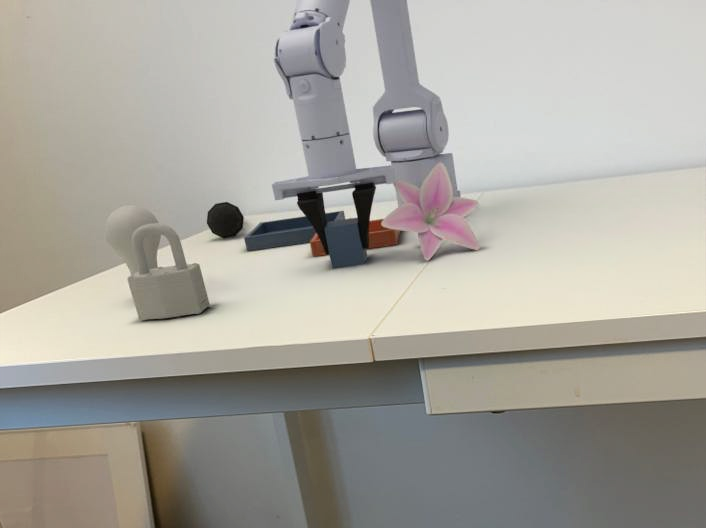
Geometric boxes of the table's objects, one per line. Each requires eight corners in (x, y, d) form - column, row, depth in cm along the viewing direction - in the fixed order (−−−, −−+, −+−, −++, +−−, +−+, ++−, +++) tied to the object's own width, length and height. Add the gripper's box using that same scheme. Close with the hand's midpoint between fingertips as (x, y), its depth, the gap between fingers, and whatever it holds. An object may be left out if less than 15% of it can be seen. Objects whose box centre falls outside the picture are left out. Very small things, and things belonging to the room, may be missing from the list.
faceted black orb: (230, 237, 145) (217, 245, 125) (213, 209, 143) (197, 212, 124) (257, 223, 145) (248, 229, 126) (241, 194, 144) (229, 195, 124)
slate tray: (346, 223, 126) (343, 210, 125) (338, 238, 115) (335, 224, 115) (262, 235, 126) (260, 222, 125) (247, 251, 116) (243, 237, 115)
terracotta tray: (399, 230, 114) (397, 216, 114) (396, 244, 106) (394, 229, 105) (322, 241, 115) (319, 227, 114) (312, 256, 106) (309, 241, 105)
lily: (373, 274, 96) (383, 207, 90) (382, 218, 105) (391, 153, 98) (472, 290, 98) (488, 225, 91) (473, 233, 106) (488, 170, 100)
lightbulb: (134, 293, 100) (108, 205, 96) (183, 285, 100) (159, 197, 97) (118, 307, 95) (90, 214, 91) (170, 299, 95) (144, 206, 91)
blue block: (367, 256, 102) (360, 217, 100) (364, 263, 98) (357, 223, 96) (336, 260, 102) (328, 221, 100) (332, 268, 98) (324, 228, 96)
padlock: (136, 323, 87) (109, 231, 83) (152, 311, 90) (127, 223, 87) (199, 315, 86) (174, 223, 82) (212, 304, 90) (189, 215, 86)
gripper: (257, 149, 91) (283, 265, 96) (384, 130, 91) (404, 248, 95) (269, 143, 98) (293, 252, 102) (388, 125, 97) (406, 236, 102)
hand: (347, 249), depth 99 cm, fingers closed on blue block, 4 cm apart
